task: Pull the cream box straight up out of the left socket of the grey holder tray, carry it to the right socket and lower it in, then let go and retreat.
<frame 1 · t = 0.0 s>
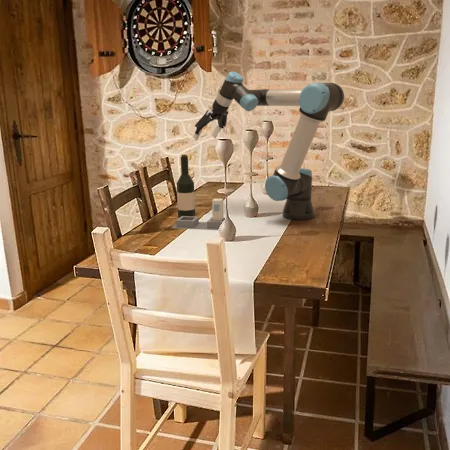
hand: (204, 138, 248), 36 cm above the table, tool tilted 35°, fingers open, 13 cm apart
grey holder tray: (203, 227, 220), on the table
cream box: (218, 226, 218), point 1 cm above the table, touching grey holder tray
wine bottle: (186, 217, 240), on the table
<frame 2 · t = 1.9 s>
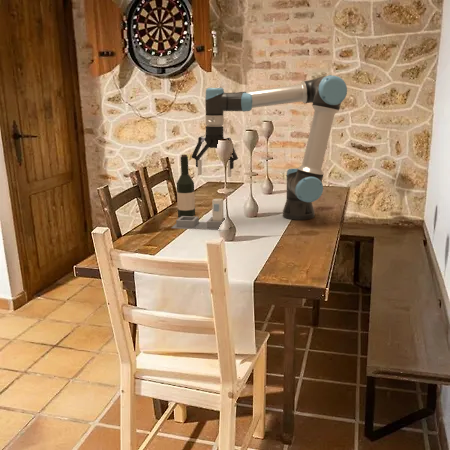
hand: (214, 175, 214), 23 cm above the table, tool pointing down, fingers open, 13 cm apart
nothing on the table moved.
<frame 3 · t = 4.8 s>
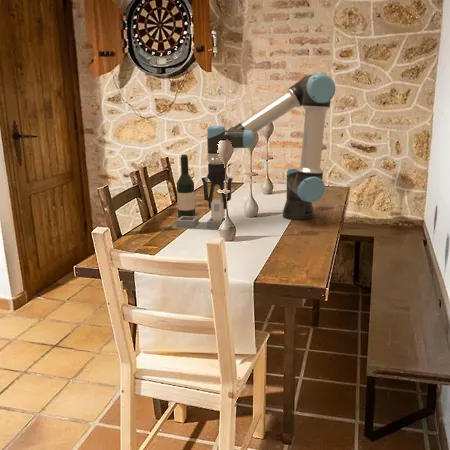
hand: (218, 216, 217), 6 cm above the table, tool pointing down, fingers closed on cream box, 4 cm apart
cream box: (218, 226, 218), point 1 cm above the table, touching gripper, grey holder tray
everything else where it was.
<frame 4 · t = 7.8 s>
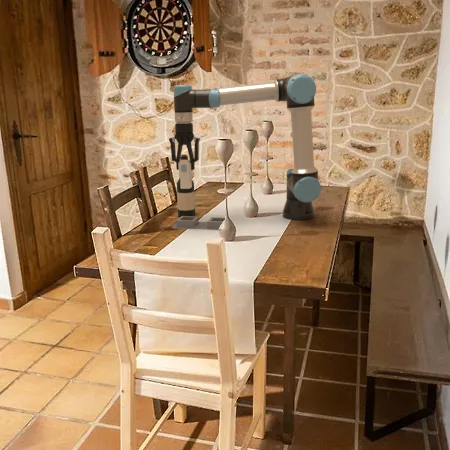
hand: (185, 177, 216), 23 cm above the table, tool pointing down, fingers closed on cream box, 4 cm apart
cream box: (186, 187, 217), point 18 cm above the table, touching gripper
everything else where it was.
when the fingers open (7 cm above the table, at t = 10.6 s): cream box drops 1 cm, resting on grey holder tray.
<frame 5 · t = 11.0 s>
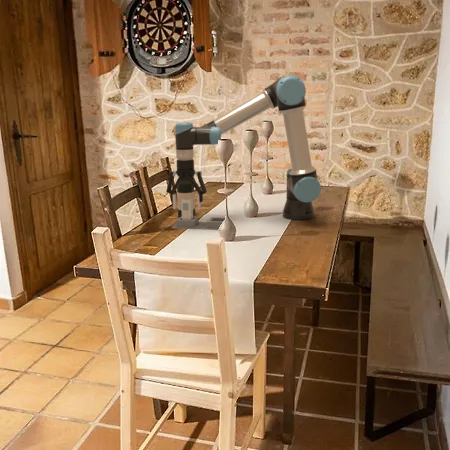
hand: (187, 208, 219), 8 cm above the table, tool pointing down, fingers open, 10 cm apart
cream box: (187, 225, 221), point 1 cm above the table, touching grey holder tray
everything else where it was.
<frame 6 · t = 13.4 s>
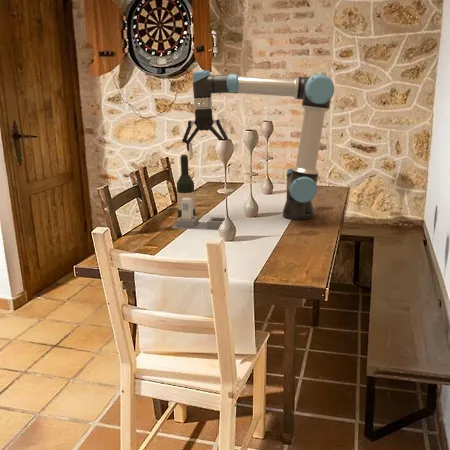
hand: (206, 158, 218), 30 cm above the table, tool pointing down, fingers open, 13 cm apart
nothing on the table moved.
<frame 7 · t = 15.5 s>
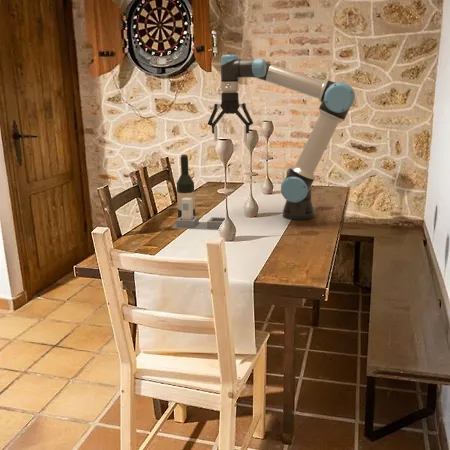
hand: (230, 141, 222), 37 cm above the table, tool pointing down, fingers open, 13 cm apart
nothing on the table moved.
at the end: cream box 0.0 cm from the target spot on the grey holder tray, point 1.0 cm above the grey holder tray's base; cream box tilted 0°; the gripper is holding nothing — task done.
